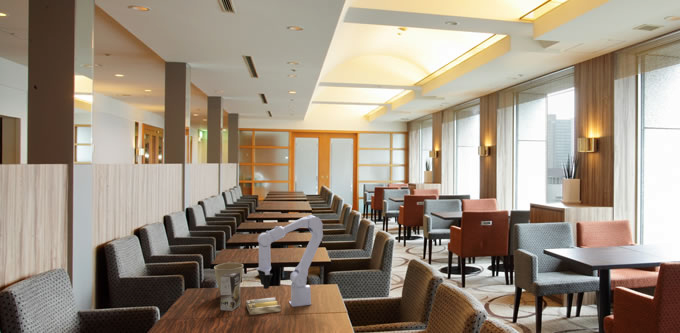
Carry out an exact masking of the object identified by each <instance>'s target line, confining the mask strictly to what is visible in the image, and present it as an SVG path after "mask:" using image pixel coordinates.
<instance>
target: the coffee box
mask: <svg viewBox="0 0 680 333" xmlns="http://www.w3.org/2000/svg"><path fill="white" fill-rule="evenodd" d="M240 306H241V283H240V273H237V272H232V273H231V272H228V273H227V274H225V275H223V276H221V293H220V310H221V311H229V312H233V311H234V310H235V309H237V308H238V307H240Z"/></svg>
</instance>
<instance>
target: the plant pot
mask: <svg viewBox="0 0 680 333" xmlns="http://www.w3.org/2000/svg"><path fill="white" fill-rule="evenodd" d="M213 270H214V275H215V279H216V283H217V284H216V285H217V287H218V290H219V293H220V294H221V276H223V275H225V274H227V273H228V272H231V273H232V272H237V273H240V284H241V282H242V278H243V272H244V271H243V270H244V264H243V263H239V262H225V263H219V264H217V265H214V267H213Z"/></svg>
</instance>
